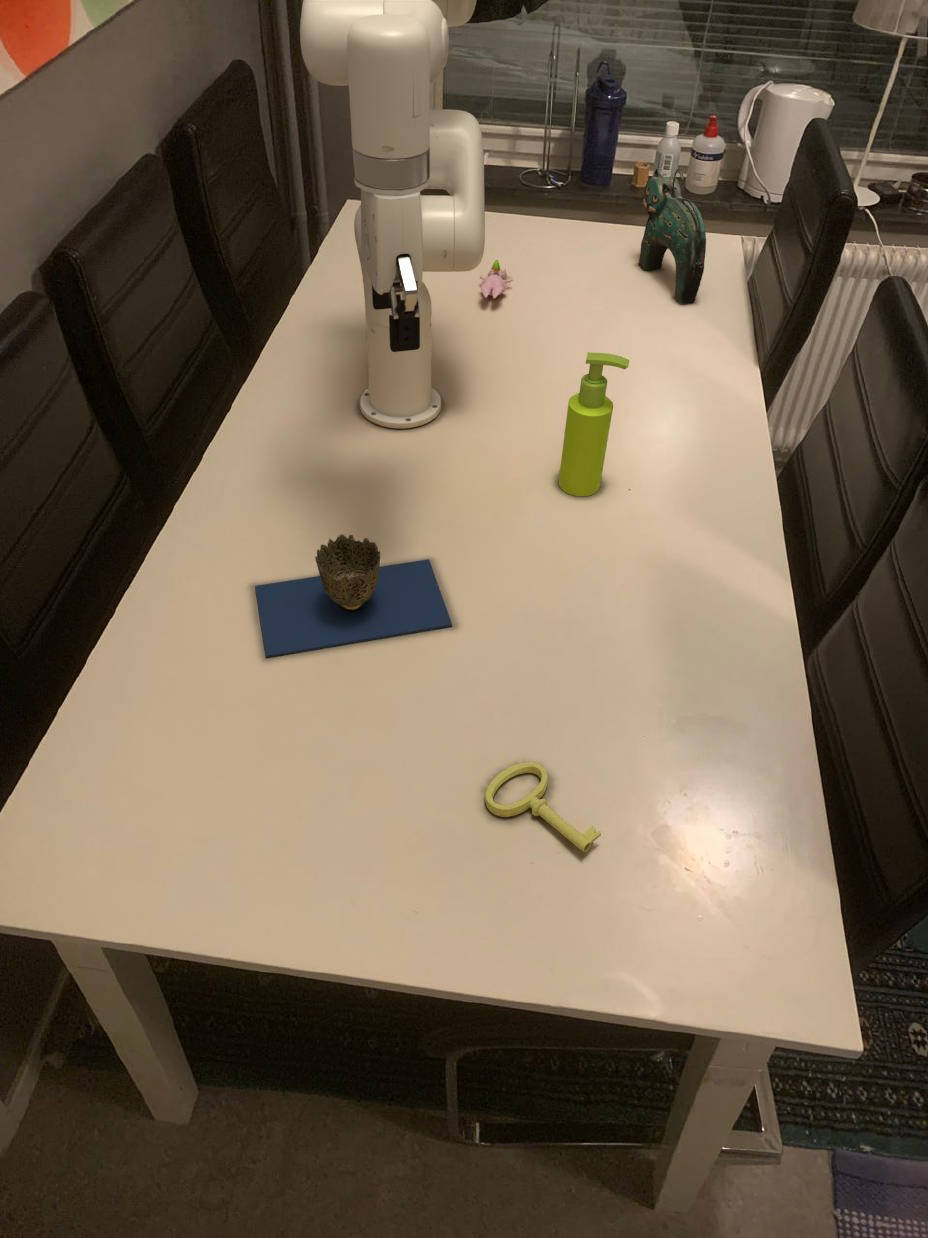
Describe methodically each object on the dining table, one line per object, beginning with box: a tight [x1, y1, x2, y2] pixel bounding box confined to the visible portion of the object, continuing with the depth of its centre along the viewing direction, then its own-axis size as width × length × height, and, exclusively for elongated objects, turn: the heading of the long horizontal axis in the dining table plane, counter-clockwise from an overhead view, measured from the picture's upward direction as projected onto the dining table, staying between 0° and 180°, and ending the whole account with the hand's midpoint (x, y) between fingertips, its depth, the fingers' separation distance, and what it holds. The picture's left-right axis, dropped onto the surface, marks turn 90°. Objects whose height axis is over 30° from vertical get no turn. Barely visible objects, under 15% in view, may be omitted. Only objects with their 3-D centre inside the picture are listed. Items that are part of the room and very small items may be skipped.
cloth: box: [254, 558, 453, 659], centre depth 111 cm, size 12×22×1 cm, turn 105°
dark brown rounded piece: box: [314, 533, 381, 612], centre depth 108 cm, size 8×7×8 cm
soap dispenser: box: [558, 351, 630, 497], centre depth 122 cm, size 6×7×20 cm
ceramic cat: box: [638, 168, 707, 305], centre depth 168 cm, size 20×6×20 cm, turn 17°
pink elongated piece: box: [479, 259, 514, 299], centre depth 168 cm, size 6×6×15 cm
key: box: [484, 761, 602, 853], centre depth 91 cm, size 7×12×2 cm, turn 60°
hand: (395, 327), depth 102 cm, fingers open, 9 cm apart
